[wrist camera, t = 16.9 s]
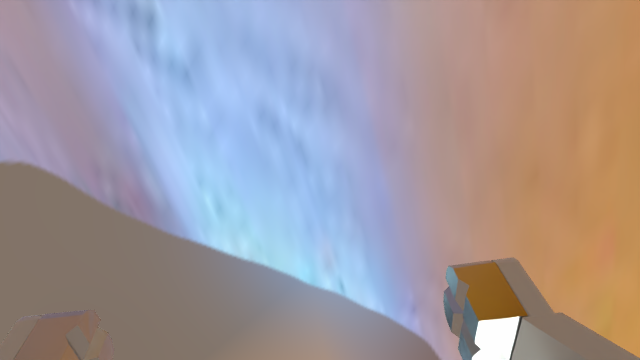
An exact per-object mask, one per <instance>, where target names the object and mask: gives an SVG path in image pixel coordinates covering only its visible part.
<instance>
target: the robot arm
mask: <svg viewBox="0 0 640 360" xmlns="http://www.w3.org/2000/svg"><path fill="white" fill-rule="evenodd" d="M446 280H447V282H448V285H449V287H448V288H447V289H446V290H445V291H444V301H443V302H444V310H445V315H446V319H447V322H448V325H449V327H450V330H451V332H452V333H454V334H455V335H456V336H458V337H459V338H460V339H459V346H458V350H459V352H460V354H461V357H462V359H463V360H640V358H638V357H637V356H635V355H633V354H631V353H630V352H628V351H626V350H625V349H623V348H621V347H620V346H618V345H616V344H614V343H613V342H611V341H609V340H608V339H606V338H604V337H602V336H601V335H599V334H597V333H596V332H594V331H592V330H591V329H589V328H587V327H585V326H584V325H582V324H580V323H579V322H577V321H575V320H573V319H572V318H570V317H568V316H567V315H565V314H563V313H554V311H553V310H552V309H551V307H550V306H549V304H548V303H547V301H546V300H545V299H544V297H543V296H542V294H541V293H540V291H539V290H538V288H537V287H536V286H535V284H534V283H533V281H532V280H531V278H530V277H529V276H528V274H527V273H526V271H525V270H524V268H523V267H522V266H521V264H520V263H519V261H518V260H517V259H515V258H506V259H498V260H492V261H482V262H474V263H467V264H459V265H451V266H448V268H447V270H446ZM100 321H101V319H100V318H99V316H98V315H97V314H96V312H95V311H94V310H84V311H74V312H64V313H53V314H45V315H37V316H26V317H22V318H21V319H20V320H18V321H17V322H16V323H15V324H14V325H13V327H12V328H11V330H10V332H9V333H8V335H7V336H6V338H5V339H4V341H3V342H2V344H1V345H0V360H113V353H114V348H113V342H112V339H111V337H110V335H109V333H108V332H106V331H104V330H102V329H101V328H99V327H98V325H99V323H100Z"/></svg>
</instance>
